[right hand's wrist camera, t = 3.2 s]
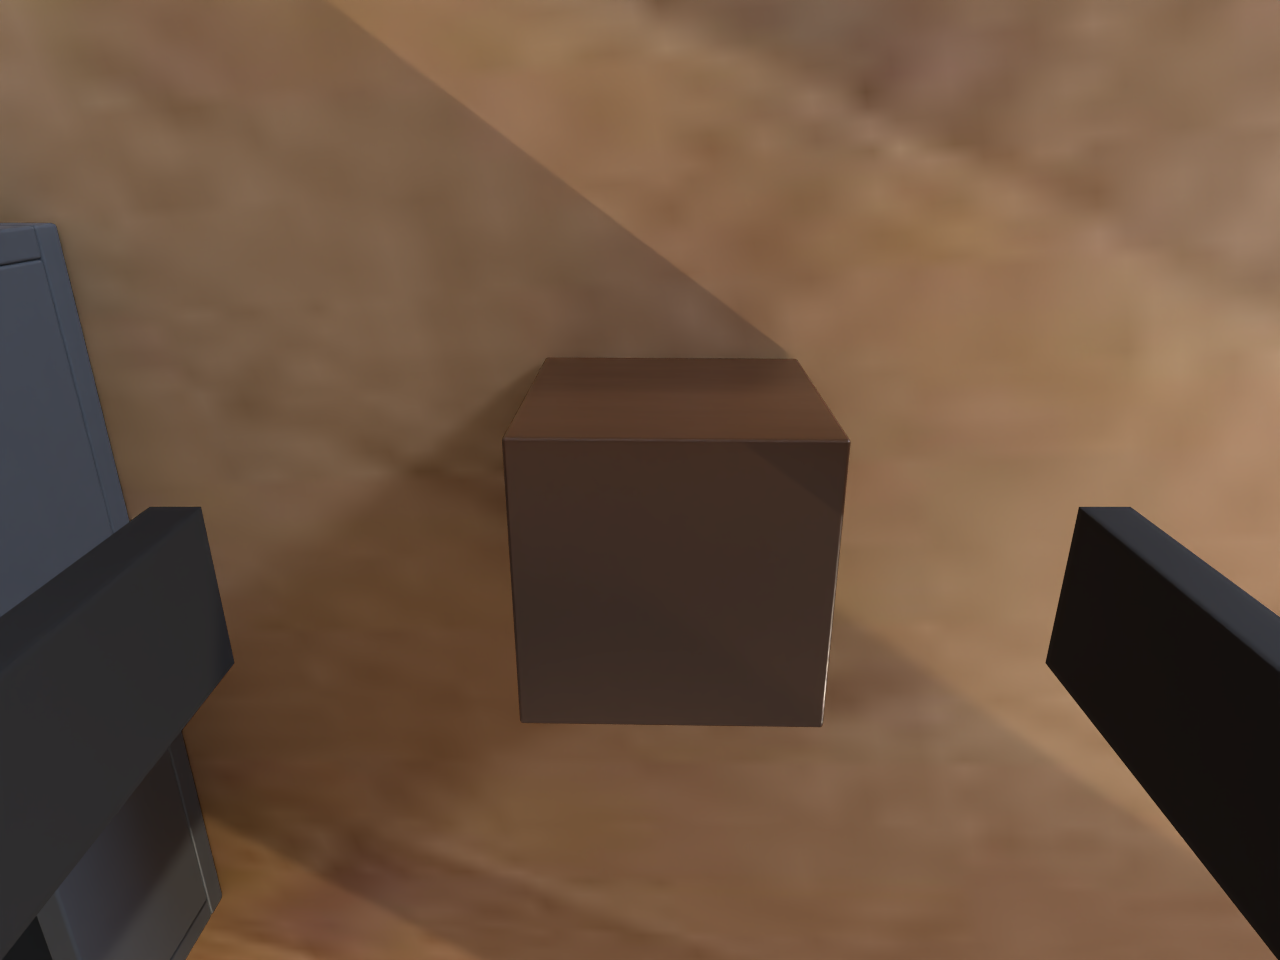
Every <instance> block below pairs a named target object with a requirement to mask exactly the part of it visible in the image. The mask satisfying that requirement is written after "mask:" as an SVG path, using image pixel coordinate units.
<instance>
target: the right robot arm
mask: <svg viewBox="0 0 1280 960" xmlns="http://www.w3.org/2000/svg"><path fill="white" fill-rule="evenodd" d="M233 664H234V659H233V654H232V649H231V645H230V640H229V635H228V631H227V626H226V621H225V617H224V612H223V607H222V603H221V598H220V594H219V589H218V584H217V580H216V575H215V570H214V566H213V561H212V556H211V552H210V547H209V542H208V538H207V533H206V528H205V524H204V519H203V515H202V510H201V507H149V508H148V509H146V510H145V511H144V512H142V513H141V514H139V515H138V516H137V517H135V518H134V519H133V520H131V521H130V522H129V523H127V524H126V525H125V526H123V527H122V528H120V529H119V530H118V531H116V532H115V533H114V534H112V535H111V536H110V537H108V538H107V539H106V540H104V541H103V542H101V543H100V544H99V545H97V546H96V547H95V548H93V549H92V550H91V551H89V552H88V553H87V554H85V555H84V556H82V557H81V558H80V559H78V560H77V561H76V562H74V563H73V564H72V565H70V566H69V567H68V568H66V569H65V570H63V571H62V572H61V573H59V574H58V575H57V576H55V577H54V578H53V579H51V580H50V581H49V582H47V583H46V584H45V585H43V586H42V587H40V588H39V589H38V590H36V591H35V592H34V593H32V594H31V595H30V596H28V597H27V598H26V599H24V600H23V601H21V602H20V603H19V604H17V605H16V606H15V607H13V608H12V609H11V610H9V611H8V612H7V613H5V614H4V615H2V616H1V617H0V960H2V959H3V958H4V956H5V955H6V954H7V953H8V951H9V950H10V949H11V948H12V946H13V945H14V944H15V942H16V941H17V940H18V939H19V937H20V936H21V935H22V934H23V932H24V931H25V930H26V928H27V927H28V926H29V925H30V923H31V922H32V921H33V919H34V918H35V917H36V916H37V914H38V913H39V912H40V911H41V909H42V908H43V907H44V905H45V904H46V903H47V902H48V900H49V899H50V898H51V896H52V895H53V894H54V893H55V891H56V890H57V889H58V888H59V886H60V885H61V884H62V882H63V881H64V880H65V879H66V877H67V876H68V875H69V874H70V872H71V871H72V870H73V868H74V867H75V866H76V865H77V863H78V862H79V861H80V859H81V858H82V857H83V856H84V854H85V853H86V852H87V851H88V849H89V848H90V847H91V845H92V844H93V843H94V842H95V840H96V839H97V838H98V837H99V835H100V834H101V833H102V831H103V830H104V829H105V828H106V826H107V825H108V824H109V822H110V821H111V820H112V819H113V817H114V816H115V815H116V814H117V812H118V811H119V810H120V808H121V807H122V806H123V805H124V803H125V802H126V801H127V799H128V798H129V797H130V796H131V794H132V793H133V792H134V791H135V789H136V788H137V787H138V785H139V784H140V783H141V782H142V780H143V779H144V778H145V777H146V775H147V774H148V773H149V771H150V770H151V769H152V768H153V766H154V765H155V764H156V762H157V761H158V760H159V759H160V757H161V756H162V755H163V754H164V752H165V751H166V750H167V748H168V747H169V746H170V745H171V743H172V742H173V741H174V740H175V738H176V737H177V736H178V734H179V733H180V732H181V731H182V729H183V728H184V727H185V725H186V724H187V723H188V722H189V720H190V719H191V718H192V717H193V715H194V714H195V713H196V711H197V710H198V709H199V708H200V706H201V705H202V704H203V702H204V701H205V700H206V699H207V697H208V696H209V695H210V694H211V692H212V691H213V690H214V688H215V687H216V686H217V685H218V683H219V682H220V681H221V680H222V678H223V677H224V676H225V674H226V673H227V672H228V671H229V669H230V668H231V667H232V665H233ZM1046 664H1047V665H1048V667H1049V668H1050V669H1051V671H1052V672H1053V673H1054V674H1055V676H1056V677H1057V678H1058V680H1059V681H1060V682H1061V683H1062V685H1063V686H1064V687H1065V688H1066V690H1067V691H1068V692H1069V694H1070V695H1071V696H1072V697H1073V699H1074V700H1075V701H1076V702H1077V704H1078V705H1079V706H1080V708H1081V709H1082V710H1083V711H1084V713H1085V714H1086V715H1087V717H1088V718H1089V719H1090V720H1091V722H1092V723H1093V724H1094V725H1095V727H1096V728H1097V729H1098V731H1099V732H1100V733H1101V734H1102V736H1103V737H1104V738H1105V740H1106V741H1107V742H1108V743H1109V745H1110V746H1111V747H1112V748H1113V750H1114V751H1115V752H1116V754H1117V755H1118V756H1119V757H1120V759H1121V760H1122V761H1123V762H1124V764H1125V765H1126V766H1127V768H1128V769H1129V770H1130V771H1131V773H1132V774H1133V775H1134V777H1135V778H1136V779H1137V780H1138V782H1139V783H1140V784H1141V785H1142V787H1143V788H1144V789H1145V791H1146V792H1147V793H1148V794H1149V796H1150V797H1151V798H1152V799H1153V801H1154V802H1155V803H1156V805H1157V806H1158V807H1159V808H1160V810H1161V811H1162V812H1163V814H1164V815H1165V816H1166V817H1167V819H1168V820H1169V821H1170V822H1171V824H1172V825H1173V826H1174V828H1175V829H1176V830H1177V831H1178V833H1179V834H1180V835H1181V837H1182V838H1183V839H1184V840H1185V842H1186V843H1187V844H1188V845H1189V847H1190V848H1191V849H1192V851H1193V852H1194V853H1195V854H1196V856H1197V857H1198V858H1199V859H1200V861H1201V862H1202V863H1203V865H1204V866H1205V867H1206V868H1207V870H1208V871H1209V872H1210V874H1211V875H1212V876H1213V877H1214V879H1215V880H1216V881H1217V882H1218V884H1219V885H1220V886H1221V888H1222V889H1223V890H1224V891H1225V893H1226V894H1227V895H1228V896H1229V898H1230V899H1231V900H1232V902H1233V903H1234V904H1235V905H1236V907H1237V908H1238V909H1239V911H1240V912H1241V913H1242V914H1243V916H1244V917H1245V918H1246V919H1247V921H1248V922H1249V923H1250V925H1251V926H1252V927H1253V928H1254V930H1255V931H1256V932H1257V934H1258V935H1259V936H1260V937H1261V939H1262V940H1263V941H1264V942H1265V944H1266V945H1267V946H1268V948H1269V949H1270V950H1271V951H1272V953H1273V954H1274V955H1275V956H1276V958H1277V959H1278V960H1280V617H1279V616H1278V615H1276V614H1275V613H1273V612H1272V611H1271V610H1269V609H1268V608H1267V607H1265V606H1264V605H1263V604H1261V603H1260V602H1259V601H1257V600H1256V599H1254V598H1253V597H1252V596H1250V595H1249V594H1248V593H1246V592H1245V591H1244V590H1242V589H1241V588H1240V587H1238V586H1237V585H1235V584H1234V583H1233V582H1231V581H1230V580H1229V579H1227V578H1226V577H1225V576H1223V575H1222V574H1221V573H1219V572H1218V571H1217V570H1215V569H1214V568H1212V567H1211V566H1210V565H1208V564H1207V563H1206V562H1204V561H1203V560H1202V559H1200V558H1199V557H1198V556H1196V555H1195V554H1193V553H1192V552H1191V551H1189V550H1188V549H1187V548H1185V547H1184V546H1183V545H1181V544H1180V543H1179V542H1177V541H1176V540H1174V539H1173V538H1172V537H1170V536H1169V535H1168V534H1166V533H1165V532H1164V531H1162V530H1161V529H1160V528H1158V527H1157V526H1155V525H1154V524H1153V523H1151V522H1150V521H1149V520H1147V519H1146V518H1145V517H1143V516H1142V515H1141V514H1139V513H1138V512H1136V511H1135V510H1134V509H1132V508H1131V507H1079V510H1078V515H1077V519H1076V524H1075V528H1074V533H1073V538H1072V542H1071V547H1070V552H1069V556H1068V561H1067V566H1066V570H1065V575H1064V580H1063V584H1062V589H1061V594H1060V598H1059V603H1058V607H1057V612H1056V617H1055V621H1054V626H1053V631H1052V635H1051V640H1050V645H1049V649H1048V654H1047V659H1046Z"/></svg>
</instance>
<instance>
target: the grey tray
mask: <svg viewBox="0 0 1280 960" xmlns="http://www.w3.org/2000/svg"><path fill="white" fill-rule="evenodd" d="M127 523H129V518H128V514H127V510H126V506H125V502H124V498H123V494H122V490H121V485H120V481H119V477H118V473H117V469H116V465H115V461H114V457H113V453H112V449H111V445H110V441H109V437H108V433H107V429H106V425H105V421H104V417H103V413H102V409H101V405H100V401H99V397H98V393H97V389H96V385H95V381H94V377H93V372H92V368H91V364H90V360H89V356H88V352H87V348H86V344H85V340H84V336H83V332H82V328H81V324H80V320H79V316H78V312H77V308H76V304H75V300H74V296H73V292H72V288H71V284H70V280H69V276H68V272H67V268H66V264H65V259H64V255H63V251H62V247H61V243H60V239H59V235H58V231H57V227H56V225H55V224H52V223H0V617H1V616H2V615H4V614H5V613H7V612H8V611H9V610H11V609H12V608H13V607H15V606H16V605H17V604H19V603H20V602H21V601H23V600H24V599H26V598H27V597H28V596H30V595H31V594H32V593H34V592H35V591H36V590H38V589H39V588H40V587H42V586H43V585H45V584H46V583H47V582H49V581H50V580H51V579H53V578H54V577H55V576H57V575H58V574H59V573H61V572H62V571H63V570H65V569H66V568H68V567H69V566H70V565H72V564H73V563H74V562H76V561H77V560H78V559H80V558H81V557H82V556H84V555H85V554H87V553H88V552H89V551H91V550H92V549H93V548H95V547H96V546H97V545H99V544H100V543H101V542H103V541H104V540H106V539H107V538H108V537H110V536H111V535H112V534H114V533H115V532H116V531H118V530H119V529H120V528H122V527H123V526H125V525H126V524H127ZM221 898H222V893H221V889H220V885H219V881H218V877H217V873H216V869H215V865H214V861H213V857H212V853H211V849H210V845H209V841H208V837H207V833H206V828H205V824H204V820H203V816H202V812H201V808H200V804H199V800H198V796H197V792H196V788H195V784H194V780H193V776H192V772H191V768H190V764H189V760H188V756H187V752H186V748H185V744H184V740H183V736H182V732H180V733H179V734H178V736H177V737H176V738H175V740H174V741H173V742H172V743H171V745H170V746H169V747H168V748H167V750H166V751H165V752H164V754H163V755H162V756H161V757H160V759H159V760H158V761H157V762H156V764H155V765H154V766H153V768H152V769H151V770H150V771H149V773H148V774H147V775H146V777H145V778H144V779H143V780H142V782H141V783H140V784H139V785H138V787H137V788H136V789H135V791H134V792H133V793H132V794H131V796H130V797H129V798H128V799H127V801H126V802H125V803H124V805H123V806H122V807H121V808H120V810H119V811H118V812H117V814H116V815H115V816H114V817H113V819H112V820H111V821H110V822H109V824H108V825H107V826H106V828H105V829H104V830H103V831H102V833H101V834H100V835H99V837H98V838H97V839H96V840H95V842H94V843H93V844H92V845H91V847H90V848H89V849H88V851H87V852H86V853H85V854H84V856H83V857H82V858H81V859H80V861H79V862H78V863H77V865H76V866H75V867H74V868H73V870H72V871H71V872H70V874H69V875H68V876H67V877H66V879H65V880H64V881H63V882H62V884H61V885H60V886H59V888H58V889H57V890H56V891H55V893H54V894H53V895H52V896H51V898H50V899H49V900H48V902H47V903H46V904H45V905H44V907H43V908H42V909H41V911H40V912H39V913H38V914H37V916H36V917H35V918H34V919H33V921H32V922H31V923H30V925H29V926H28V927H27V928H26V930H25V931H24V932H23V934H22V935H21V936H20V937H19V939H18V940H17V941H16V942H15V944H14V945H13V946H12V948H11V949H10V950H9V951H8V953H7V954H6V955H5V956H4V958H3V959H2V960H186V958H187V956H188V954H189V953H190V951H191V949H192V948H193V946H194V944H195V943H196V941H197V939H198V937H199V936H200V934H201V932H202V931H203V929H204V927H205V925H206V924H207V922H208V920H209V919H210V916H211V914H212V913H213V912H214V910H215V908H216V907H217V905H218V903H219V902H220V900H221Z"/></svg>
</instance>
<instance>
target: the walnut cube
mask: <svg viewBox="0 0 1280 960" xmlns="http://www.w3.org/2000/svg"><path fill="white" fill-rule="evenodd" d="M502 446H503V462H504V477H505V493H506V508H507V524H508V539H509V555H510V571H511V586H512V602H513V617H514V633H515V648H516V664H517V679H518V695H519V711H520V721H521V722H522V723H568V724H638V725H709V726H779V727H822V725H823V717H824V706H825V696H826V686H827V676H828V666H829V656H830V645H831V635H832V625H833V615H834V605H835V595H836V585H837V574H838V564H839V554H840V544H841V534H842V524H843V513H844V503H845V493H846V483H847V473H848V463H849V453H850V440H849V438H848V437H847V435H846V434H845V432H844V431H843V429H842V428H841V426H840V424H839V423H838V421H837V420H836V418H835V417H834V415H833V414H832V412H831V411H830V409H829V408H828V406H827V405H826V403H825V402H824V400H823V399H822V397H821V396H820V394H819V393H818V391H817V389H816V388H815V386H814V385H813V383H812V382H811V380H810V379H809V377H808V376H807V374H806V373H805V371H804V370H803V368H802V367H801V365H800V364H799V362H798V361H797V360H796V359H678V358H546V360H545V362H544V363H543V365H542V367H541V369H540V371H539V373H538V374H537V376H536V378H535V380H534V382H533V384H532V385H531V387H530V389H529V391H528V393H527V394H526V396H525V398H524V400H523V402H522V404H521V405H520V407H519V409H518V411H517V413H516V415H515V416H514V418H513V420H512V422H511V424H510V426H509V427H508V429H507V431H506V433H505V435H504V437H503V439H502Z"/></svg>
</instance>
